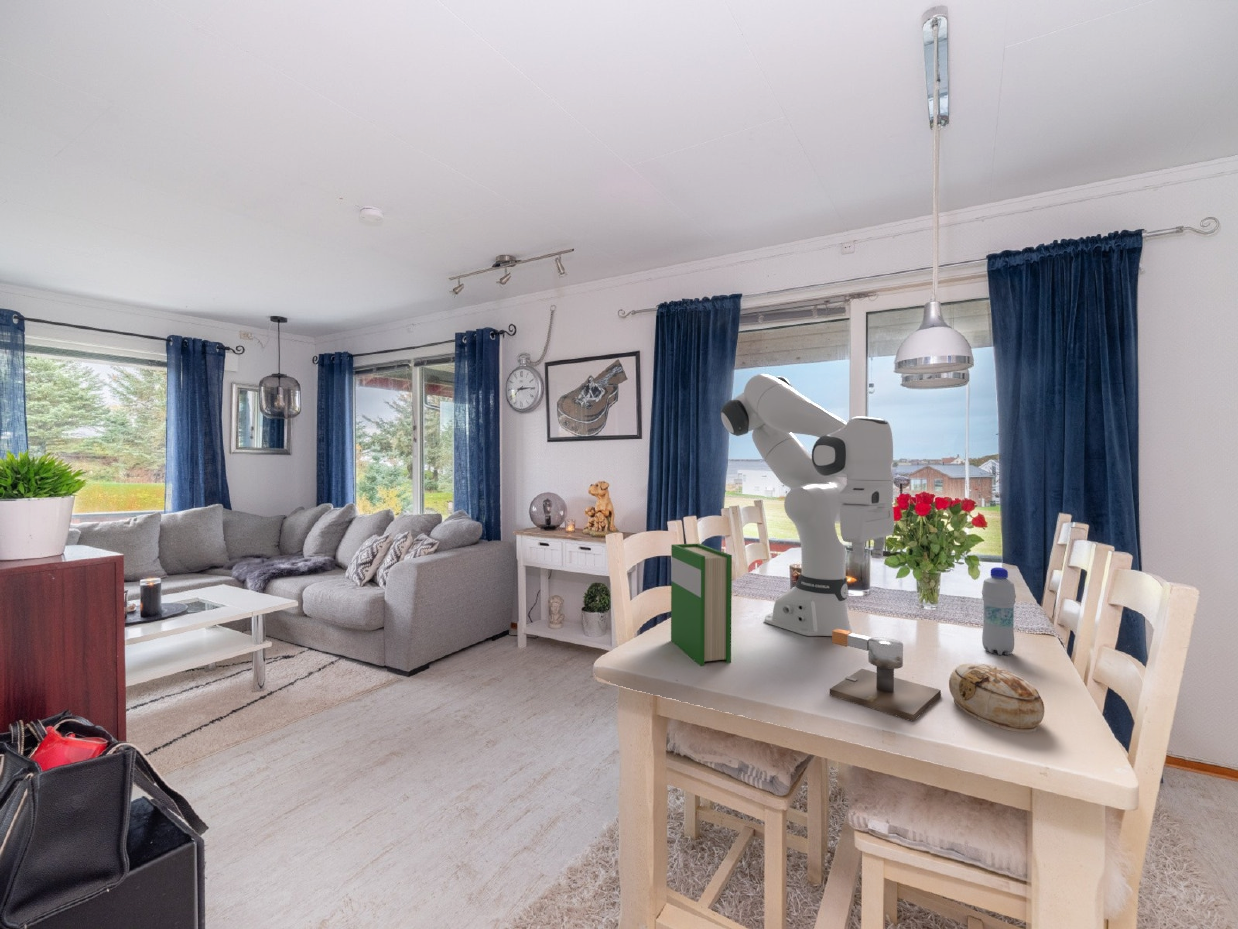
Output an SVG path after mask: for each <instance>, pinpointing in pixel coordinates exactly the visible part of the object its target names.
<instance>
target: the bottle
mask: <svg viewBox="0 0 1238 929" xmlns="http://www.w3.org/2000/svg"><path fill="white" fill-rule="evenodd" d="M1008 578H1009V572H1008V569H1007V568H1004V567H997V566H996V567H992V568H991V569H990V577H988V578H985V579H983V583H982V590H981V594H982V595H981V599H982V602H983V619H982V620H983V621H982V622H983V623H982V624H983V625H982V626H983V627H982V637H981V639H982V640H981V642H982V643H981V644H982V646H983V647H982V648H984V650H985V651H986V652H987V651H988V652H989V653H991V654H994V652H995V650H996V652H997V655H1003V652H1004V654H1005V655H1007V656H1008V655H1011V653H1013V651H1014V650H1015V633H1014V630H1015V629H1014V625H1015V624H1014V622H1015V621H1014V617H1015V616H1014V614H1015V613H1014V611H1015V610H1014V608H1015V604H1016V597H1017V596H1016V595H1017V594H1016V589H1015V584H1014V582H1013V581H1011V580H1009V579H1008Z"/></svg>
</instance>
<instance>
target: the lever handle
mask: <svg viewBox="0 0 1238 929" xmlns="http://www.w3.org/2000/svg"><path fill="white" fill-rule="evenodd" d="M831 642H832V643H831V644H834V645H838V646H841V647H846V648H847V647H850V648H853V649H858V650H862V651H867V656H868V657H867V658H868V659H867V661H868V663H870V664H871V665H873V666H875V667H877V666H878V667H881V668H888V669H894V670H895V669H902V668H903V666H904V644H903V642H901V641H900V640H897V639H894V638H891V637H890V638H889V637H883V636H882V637H881V636H880V637H879V636H877V637H876V636H875V637H871V636H867V635H863V634H858V633H855V632H853V631H851V632H850V631H846V630H841V629H835V630H833V631H832V636H831Z"/></svg>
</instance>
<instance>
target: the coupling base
mask: <svg viewBox="0 0 1238 929" xmlns="http://www.w3.org/2000/svg"><path fill="white" fill-rule="evenodd" d="M844 678H845V679H843V680H841V681H839V682H838V683H836V684H835V685H833V686H832V687H830V688H829V696H831V695H832V697H834V696H835V698H837V699H841V698H842V699H841V700H844V701H847V702H850V703H853V702H854V704H856V703H857V705H859V706H863V707H866V708H870V709H872V708H874V709H873V710H875V709H877V710H876V711H878V710H879V712H883V713H885V712H886V713H885V714H888V715H891V716H894V715H897V716H899V717H898V718H900V717H901V719H903V718H904V720H907V719H909V720H908V721H910V720H912V721H911V722H914V721H916V720H917V719H916V718H917V717H918V716H919V715H920V716H921V715H922V714H923V713H924V712H925V711H927V710H928V708H930V707H931V706H932V705H933V704H934V703H935V702H936V701H938V700H939V698H940V697H941V696H942V695H941V694H942V693H941V691H942V689H938V688H934V687H931V686H927V685H924V684H921V683H916V682H913V681H909V680H907V679H906V680H905V679H901V678H899V677H895V669H888V668H881V667H878V666H876V671H871V670H868V669H864V668H861V669H859V670H857V671H856V672H854V673H853V674H851V675H849V676H846V677H844ZM930 705H931V706H930ZM929 706H930V707H929ZM922 712H923V713H922ZM897 716H896V717H897ZM920 716H919V717H920ZM919 717H918V718H919Z"/></svg>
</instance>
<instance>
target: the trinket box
mask: <svg viewBox="0 0 1238 929" xmlns="http://www.w3.org/2000/svg"><path fill="white" fill-rule="evenodd" d="M948 688H949V692H950V694H951V696H952V698H953V700H954V703H955V705H957V707H959V709H961V710H962V711H963V712H965V713H967V714H968V715H969V716H971V717H973V718H976V719H977V720H979V721H981V722H983V723H985V724H988V725H990V726H994V727H996V728H999V729H1003V730H1008V731H1012V732H1018V733H1033V732H1035V731H1036V730H1037V729H1038V725H1040V723H1042V721H1043V720H1044V717H1045V704H1044V701H1043V699H1042V697H1041V695H1040V693H1039V691H1038V690H1037V689H1036V687H1035V686H1033V685H1032V684H1031V683H1029V682H1028V681H1026V680H1025V679H1023V678H1021V677H1020V676H1018V675H1016V674H1014V673H1012V672H1011V671H1008V670H1007V669H1004V668H1000V667H997V666H996V665H995V666H994V665H991V664H986V663H978V662H977V663H976V662H975V663H974V662H973V663H972V662H971V663H963V664H959V665H958V666H956V668H955V669H953V671H952V672H951V673H950V676H949V680H948Z"/></svg>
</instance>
